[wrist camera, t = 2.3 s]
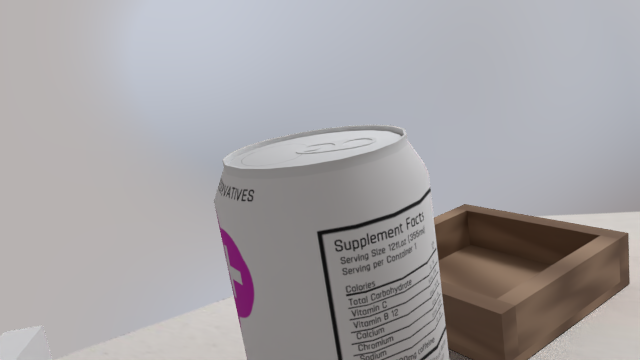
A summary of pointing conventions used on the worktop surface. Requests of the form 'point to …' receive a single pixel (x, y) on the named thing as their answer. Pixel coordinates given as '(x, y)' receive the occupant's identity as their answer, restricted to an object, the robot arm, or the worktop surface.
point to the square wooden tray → (521, 278)
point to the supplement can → (333, 247)
